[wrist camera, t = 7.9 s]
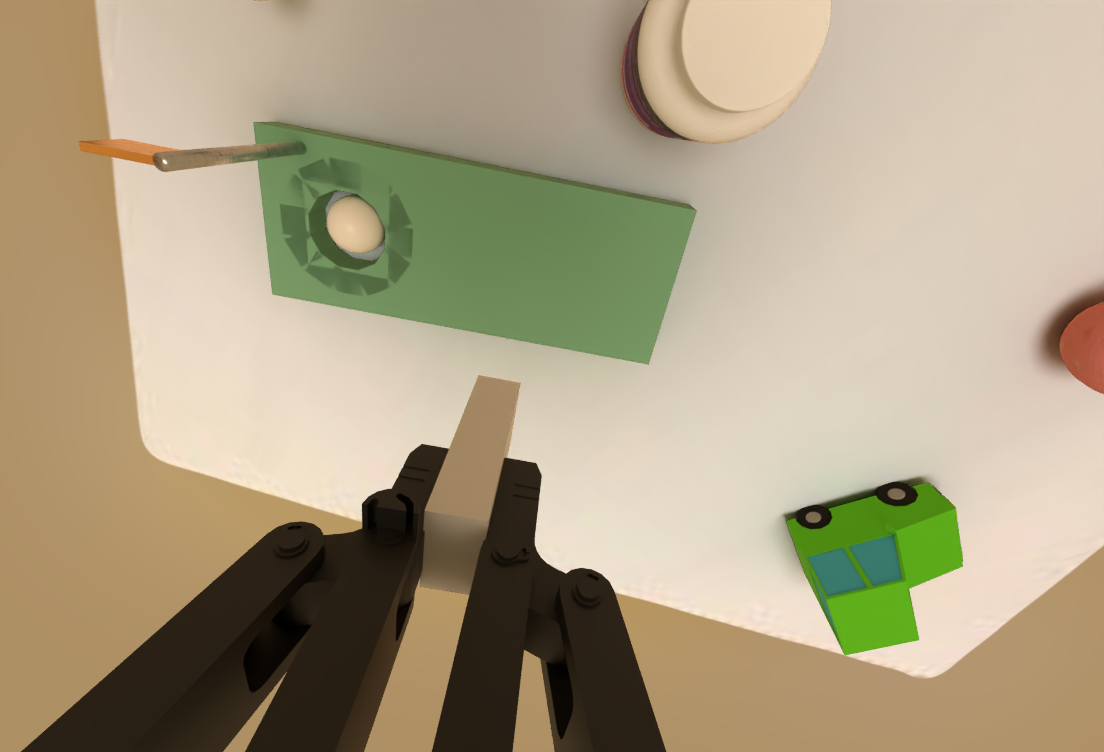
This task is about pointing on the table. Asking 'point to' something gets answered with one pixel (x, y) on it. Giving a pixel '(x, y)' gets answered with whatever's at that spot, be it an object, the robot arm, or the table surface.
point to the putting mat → (474, 245)
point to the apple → (1085, 347)
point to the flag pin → (189, 153)
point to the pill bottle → (720, 64)
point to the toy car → (876, 560)
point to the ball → (355, 225)
